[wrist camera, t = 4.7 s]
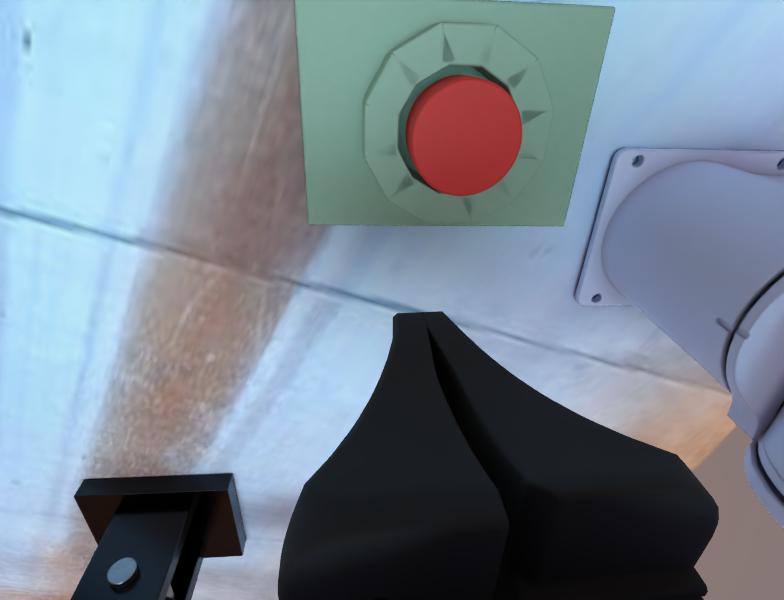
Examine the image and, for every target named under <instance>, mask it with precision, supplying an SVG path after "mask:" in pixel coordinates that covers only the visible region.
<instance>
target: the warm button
mask: <svg viewBox="0 0 784 600" xmlns="http://www.w3.org/2000/svg"><path fill="white" fill-rule="evenodd" d="M405 132H406V145H407V149H408V152H409V155H410V157H411V159H412V161H413V163H414V165H415V167H416V169H417V170H418V172H419V174H420V175H421V176H422V178H423V179H424V180H425V181H426V182H427V183H428V184H429V185H430V186H432V187H433V188H434V189H436V190H438V191H440V192H442V193H445V194H448V195H453V196H469V195H475V194H478V193H481V192H483V191H485V190H487V189H489V188H491V187H492V186H494V185H495V184H497V183H498V182H499V181H500V180H501V179H502V178H503V177H504V176H505V175H506V174H507V173H508V171H509V170H510V169H511V167H512V166H513V164H514V162H515V160H516V158H517V156H518V153H519V150H520V146H521V142H522V121H521V116H520V113H519V110H518V108H517V105H516V103H515V102H514V100H513V99H512V97H511V96H510V95H509V94H508V92H506V91H505V90H504V89H503V88H502V87H500V86H499V85H497V84H496V83H493V82H491V81H489V80H485V79H482V78H478V77H473V76H469V75H453V76H448V77H445V78H442V79H440V80H438V81H436V82H434V83H433V84H431V85H430V86H428V87H427V88H426V89H425V90H424V91H423V92H422V93H421V94H420V95H419V97H418V98H417V99H416V101H415V102H414V104H413V106H412V108H411V110H410V113H409V115H408V119H407V123H406V131H405Z"/></svg>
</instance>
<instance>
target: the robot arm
mask: <svg viewBox="0 0 784 600" xmlns="http://www.w3.org/2000/svg"><path fill="white" fill-rule="evenodd" d="M636 156H639V160H638V162H637V163H636V164H635V165H632V161H633V159H634V158H635V157H636ZM780 160H782V161H781V163H780V165H779V166H777V165H778V163H779V162H780ZM596 294H598V295H597V297H596V298H594V299H592V297H593V296H594V295H596ZM575 299H576V301H577V302H578V304H580V305H581V306H636V307H637V308H638V309H639V310H640V311H641V312H642V313H644V314H645V315H646V316H647V317H648V318H649V319H650V320H651V321H652V322H653V323H655V324H656V325H657V326H658V327H659V328H660V329H661V330H662V331H663V332H664V333H665V334H667V335H668V336H669V337H670V338H671V339H672V340H673V341H674V342H675V343H676V344H678V345H679V346H680V347H681V348H682V349H683V350H684V351H685V352H686V353H687V354H688V355H690V356H691V357H692V358H693V359H694V360H695V361H696V362H697V363H698V364H699V365H701V366H702V367H703V368H704V369H705V370H706V371H707V372H708V373H709V374H710V375H711V376H713V377H714V378H715V379H716V380H717V381H718V382H719V383H720V384H721V385H722V386H724V387H725V388H726V389H727V390H728V391H729V392H730V393H731V394H732V404H731V407H730V409H729V411H728V414H727V415H728V416H729V417H730V418H731V419H732V420H733V421H734V422H735V423H736V424H737V425H738V426H739V427H740V428H741V429H742V430H743V431H744V432H745V433H746V434H747V435H748V436H749V437H750V438H751V439H752V440H753V441H752V442H751V443H750V444H749V446H748V448H747V449H746V452H745V455H744V456H745V457H744V468H745V473H746V476H747V479H748V481H749V483H750V486H751V488H752V489H753V491H754V492H755V494H756V495H757V497H758V499H759V500H760V502H761V503H762V505H763V506H764V507H765V508H766V510H767V511H768V512H769V513H770V515H771V516H772V517H773V518H774V519H775V520H776V521H777V522H778V523H779V524H780V525H781V526H782V527H783V528H784V151H752V150H705V149H659V148H623V149H621V150H619V151H618V152H617V153H616V154H615V155H614V157H613V160H612V163H611V167H610V171H609V174H608V178H607V182H606V185H605V189H604V192H603V196H602V200H601V203H600V207H599V211H598V214H597V218H596V222H595V225H594V229H593V233H592V236H591V240H590V244H589V247H588V251H587V255H586V258H585V262H584V266H583V269H582V273H581V277H580V280H579V284H578V288H577V291H576V295H575ZM718 515H719V512H718V506H717V504H716V503H715V501H714V499H713V498H712V496H711V495H710V494H709V493H708V491H707V490H706V489H705V488H704V486H703V485H702V484H701V483H700V482H699V480H698V479H697V478H696V477H695V475H694V474H693V473H692V472H691V471H690V469H689V468H688V467H687V466H686V465H685V463H684V462H683V461H682V460H681V459H680V458H679V457H678V455H676V454H673V453H671V452H668V451H665V450H662V449H660V448H657V447H654V446H652V445H649V444H646V443H644V442H641V441H638V440H635V439H633V438H630V437H627V436H625V435H623V434H620V433H618V432H616V431H613V430H611V429H609V428H607V427H604V426H602V425H600V424H598V423H595V422H593V421H591V420H589V419H587V418H585V417H583V416H581V415H579V414H577V413H575V412H573V411H571V410H569V409H568V408H566V407H564V406H562V405H560V404H558V403H557V402H555V401H553V400H551V399H549V398H548V397H546V396H544V395H543V394H541V393H539V392H538V391H536V390H535V389H533V388H532V387H530V386H529V385H527V384H526V383H524V382H523V381H521V380H520V379H518V378H517V377H515V376H514V375H513V374H511V373H510V372H509V371H507V370H506V369H505V368H504V367H502V366H501V365H500V364H498V363H497V362H496V361H495V360H493V359H492V358H491V357H490V356H489V355H487V354H486V353H485V352H484V351H483V350H482V349H481V348H479V347H478V346H477V345H476V344H475V343H474V342H473V341H472V340H471V339H470V338H469V337H468V336H467V335H465V334H464V333H463V332H462V331H461V330H460V329H459V328H458V327H457V326H456V325H455V324H454V323H453V322H452V321H451V320H450V319H449V318H448V317H447V316H446V315H445V314H444V313H443V312H418V313H397V314H396V315H395V316H394V317H393V339H392V344H391V347H390V351H389V355H388V358H387V361H386V364H385V366H384V369H383V372H382V374H381V377H380V379H379V381H378V384H377V386H376V388H375V390H374V392H373V394H372V396H371V398H370V400H369V402H368V403H367V405H366V407H365V408H364V410H363V412H362V413H361V415H360V417H359V418H358V420H357V421H356V423H355V425H354V426H353V427H352V429H351V430H350V432H349V433H348V434H347V436H346V437H345V438H344V440H343V441H342V442H341V443H340V445H339V446H338V447H337V449H336V450H335V451H334V453H333V454H332V455H331V456H330V457H329V459H328V460H327V461H326V462H325V463H324V464H323V465H322V466H321V467H320V468H319V469H318V470H317V471H316V473H315V474H314V475H313V476H312V477H311V478H310V479H309V480H308V481H307V482H306V483H305V485H304V487H303V489H302V492H301V494H300V497H299V499H298V501H297V504H296V506H295V509H294V512H293V514H292V517H291V520H290V523H289V526H288V529H287V532H286V536H285V540H284V544H283V548H282V553H281V561H280V569H279V578H278V597H279V600H703V598H702V596H705V595H706V593H707V592H708V591H707V587H706V584H705V583H704V581H703V580H702V578H701V577H700V575H699V574H698V572H697V571H696V569H695V568H694V566H695V564H696V563H697V561H698V559H699V557H700V556H701V554H702V553H703V551H704V550H705V548H706V546H707V545H708V543H709V541H710V540H711V538H712V536H713V534H714V532H715V529H716V527H717V524H718V520H719V516H718Z"/></svg>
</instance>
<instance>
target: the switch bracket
mask: <svg viewBox="0 0 784 600" xmlns="http://www.w3.org/2000/svg"><path fill="white" fill-rule="evenodd" d="M74 498H75V500H76V502H77V504H78V506H79V508H80V510H81V512H82V514H83V516H84V518H85V520H86V522H87V524H88V526H89V528H90V530H91V532H92V534H93V536H94V538H95V540H96V542H97V544H98V547H97V549H96V551H95V553H94V555H93V557H92V559H91V561H90V563H89V565H88V567H87V568H86V570H85V572H84V574H83V576H82V578H81V580H80V582H79V584H78V586H77V588H76V590H75V592H74V594H73V596H72V598H71V600H165V598H166V595H167V592H168V589H169V586H170V585H171V587H172V590H173V592H174V595H175V597H174V599H176V600H191V598H192V595H193V591H194V588H195V584H196V581H197V578H198V574H199V571H200V567H201V564H202V560H203V558H209V557H226V556H242V555H243V551H244V547H245V542H246V537H245V532H244V528H243V523H242V518H241V514H240V509H239V504H238V500H237V495H236V490H235V486H234V481H233V476H232V474H216V475H192V476H168V477H143V478H119V479H95V480H84V481H83V482H82V484H81V486H80V487H79V489H78V490H77V492H76V494H75V495H74Z"/></svg>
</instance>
